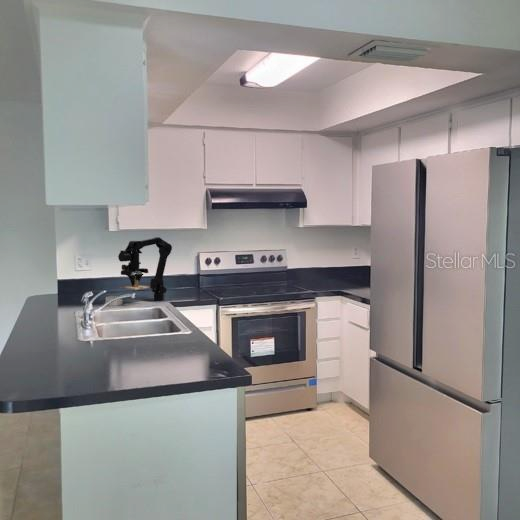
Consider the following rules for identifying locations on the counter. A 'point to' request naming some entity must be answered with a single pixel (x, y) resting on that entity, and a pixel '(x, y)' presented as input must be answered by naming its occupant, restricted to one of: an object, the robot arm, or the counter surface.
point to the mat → (140, 304)
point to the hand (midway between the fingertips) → (134, 285)
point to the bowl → (117, 302)
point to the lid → (135, 286)
